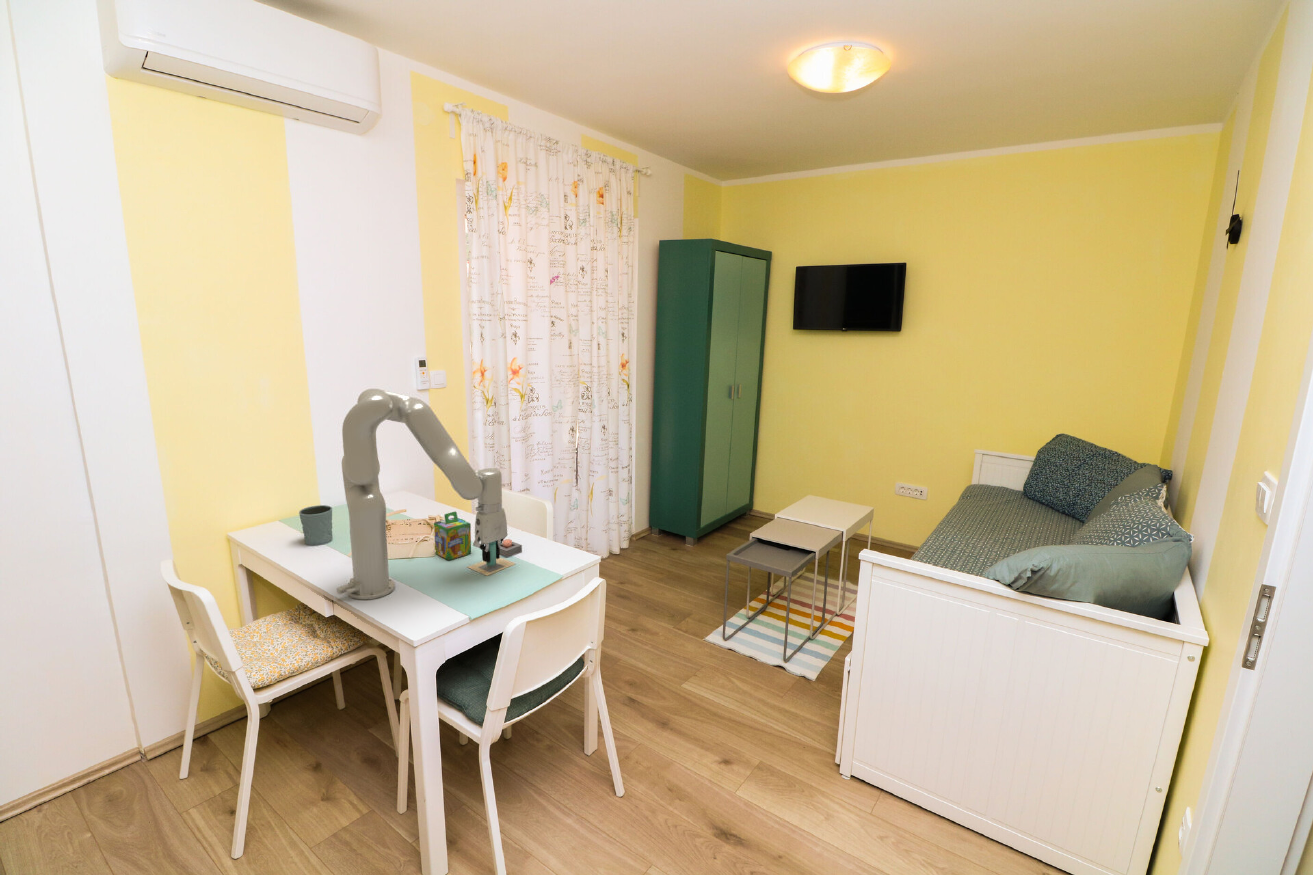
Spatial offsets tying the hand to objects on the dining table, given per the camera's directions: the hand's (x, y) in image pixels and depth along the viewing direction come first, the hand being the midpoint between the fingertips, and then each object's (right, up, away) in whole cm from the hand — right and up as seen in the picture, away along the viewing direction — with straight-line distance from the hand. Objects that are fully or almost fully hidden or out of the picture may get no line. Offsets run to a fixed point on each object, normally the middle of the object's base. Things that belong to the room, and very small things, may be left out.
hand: (491, 559), depth 194 cm
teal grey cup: (-67, +3, +17) cm, 69 cm away
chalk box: (-16, -1, +11) cm, 19 cm away
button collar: (+2, 0, +14) cm, 14 cm away
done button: (+2, +1, +13) cm, 13 cm away
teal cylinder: (0, -2, 0) cm, 2 cm away
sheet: (0, -3, +2) cm, 3 cm away
